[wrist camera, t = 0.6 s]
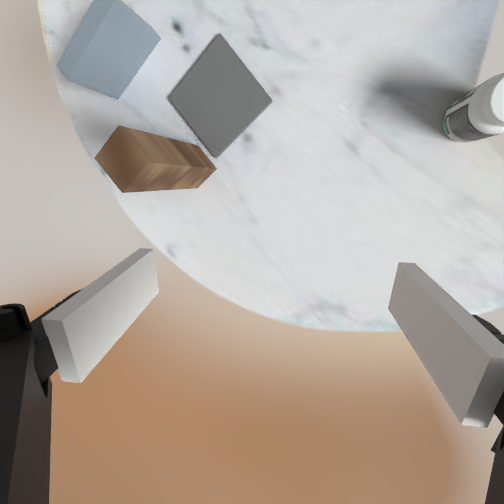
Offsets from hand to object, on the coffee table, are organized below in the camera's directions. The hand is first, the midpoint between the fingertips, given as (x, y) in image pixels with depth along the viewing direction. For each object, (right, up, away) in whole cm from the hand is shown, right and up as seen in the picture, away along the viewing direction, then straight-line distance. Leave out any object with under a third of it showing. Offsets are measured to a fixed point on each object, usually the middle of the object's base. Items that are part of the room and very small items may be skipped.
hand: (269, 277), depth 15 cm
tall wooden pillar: (-9, +13, +23) cm, 28 cm away
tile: (-17, +27, +22) cm, 39 cm away
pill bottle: (+22, +15, +14) cm, 30 cm away
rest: (-5, +21, +20) cm, 29 cm away
